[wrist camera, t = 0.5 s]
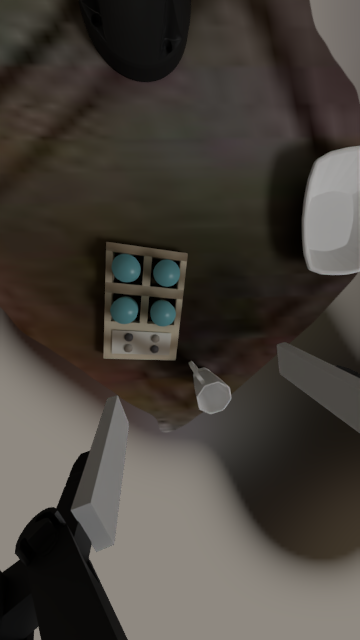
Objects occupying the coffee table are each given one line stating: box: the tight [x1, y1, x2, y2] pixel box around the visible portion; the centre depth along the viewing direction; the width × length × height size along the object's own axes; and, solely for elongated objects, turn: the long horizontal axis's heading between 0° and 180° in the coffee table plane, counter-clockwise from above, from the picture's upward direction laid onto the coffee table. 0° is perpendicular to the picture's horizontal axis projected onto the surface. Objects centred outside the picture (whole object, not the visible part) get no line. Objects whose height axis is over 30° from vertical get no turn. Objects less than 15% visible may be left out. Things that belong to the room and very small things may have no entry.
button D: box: [150, 300, 176, 326], centre depth 33 cm, size 4×4×3 cm
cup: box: [189, 361, 231, 414], centre depth 37 cm, size 7×10×8 cm
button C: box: [110, 296, 138, 324], centre depth 32 cm, size 4×4×3 cm
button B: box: [153, 259, 180, 287], centre depth 32 cm, size 4×4×3 cm
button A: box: [112, 254, 141, 282], centre depth 30 cm, size 4×4×3 cm
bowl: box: [302, 146, 360, 275], centre depth 36 cm, size 22×22×5 cm
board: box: [104, 242, 188, 360], centre depth 34 cm, size 21×14×2 cm, turn 173°
